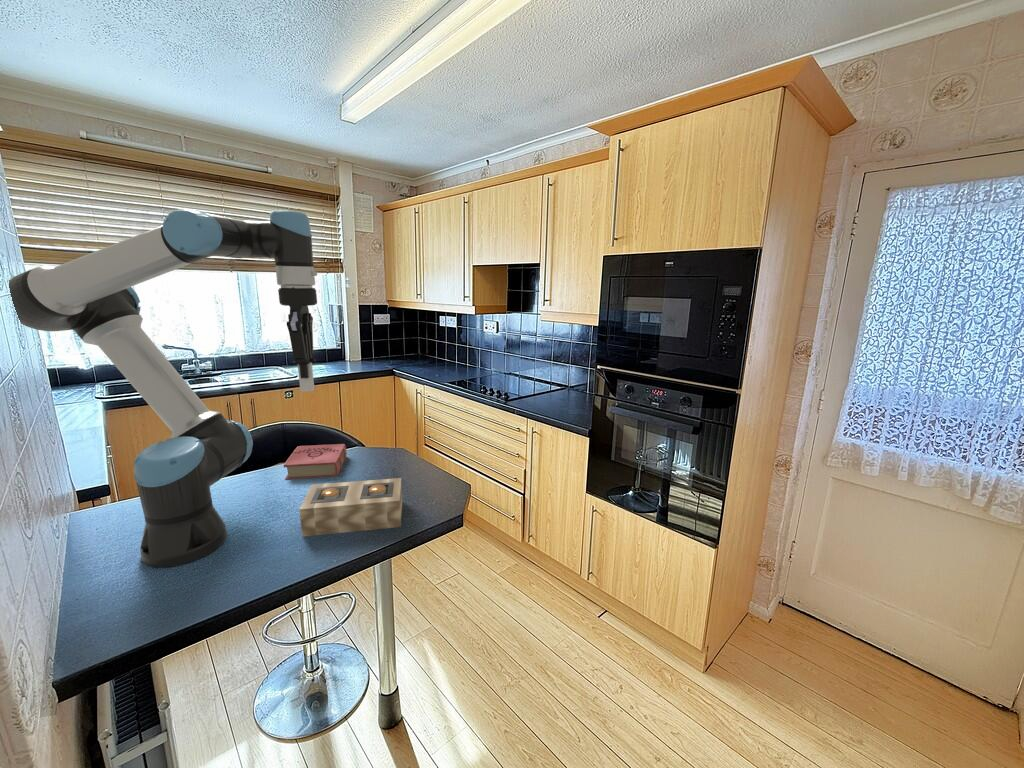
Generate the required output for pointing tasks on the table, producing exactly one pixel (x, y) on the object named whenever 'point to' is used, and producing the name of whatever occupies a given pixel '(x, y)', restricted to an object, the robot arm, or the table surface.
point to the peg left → (330, 494)
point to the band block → (351, 508)
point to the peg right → (377, 490)
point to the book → (316, 461)
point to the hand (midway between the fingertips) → (307, 390)
